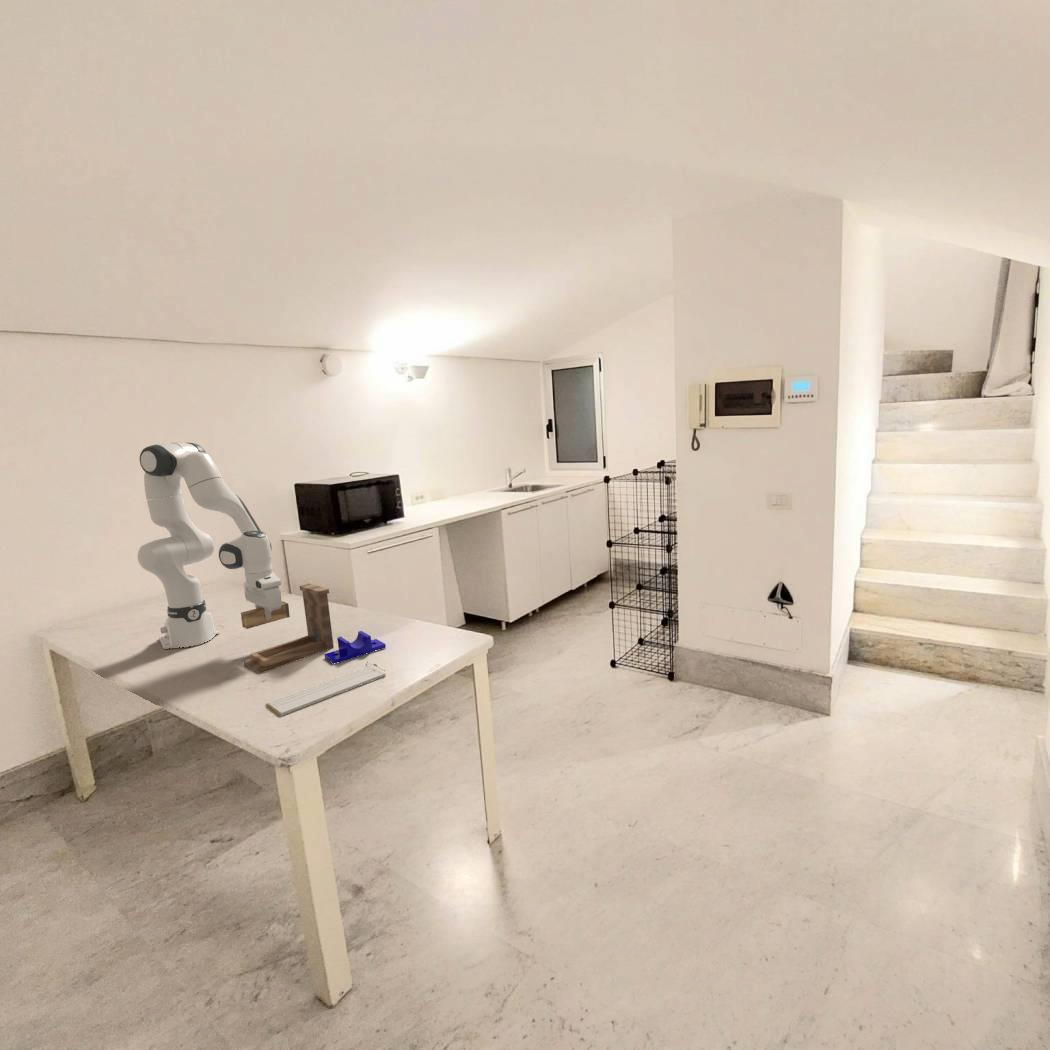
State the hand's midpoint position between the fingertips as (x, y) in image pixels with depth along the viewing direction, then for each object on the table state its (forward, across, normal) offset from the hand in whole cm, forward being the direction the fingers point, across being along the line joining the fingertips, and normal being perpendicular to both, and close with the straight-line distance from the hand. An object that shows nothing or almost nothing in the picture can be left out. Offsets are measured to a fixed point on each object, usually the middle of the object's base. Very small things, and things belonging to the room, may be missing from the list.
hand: (264, 617), depth 205 cm
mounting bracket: (+10, +32, +14) cm, 37 cm away
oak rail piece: (+2, 0, 0) cm, 2 cm away
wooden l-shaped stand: (+10, +15, 0) cm, 18 cm away
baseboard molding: (+10, +49, -6) cm, 50 cm away
